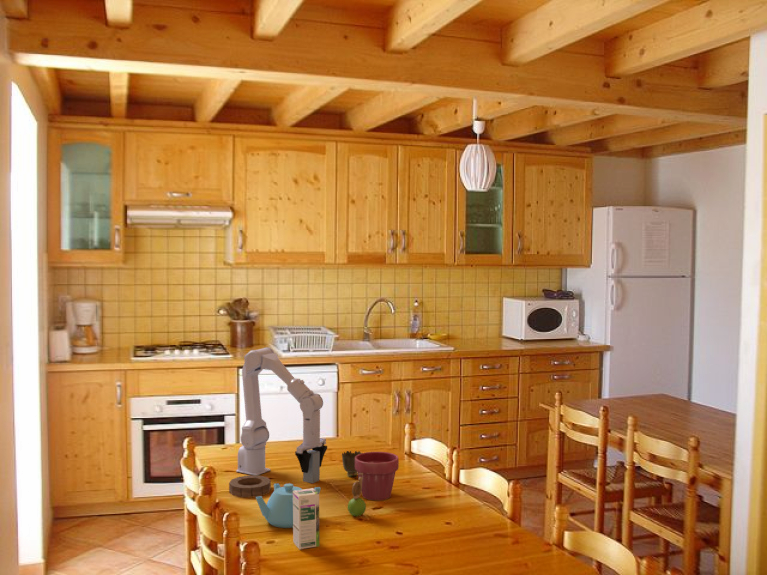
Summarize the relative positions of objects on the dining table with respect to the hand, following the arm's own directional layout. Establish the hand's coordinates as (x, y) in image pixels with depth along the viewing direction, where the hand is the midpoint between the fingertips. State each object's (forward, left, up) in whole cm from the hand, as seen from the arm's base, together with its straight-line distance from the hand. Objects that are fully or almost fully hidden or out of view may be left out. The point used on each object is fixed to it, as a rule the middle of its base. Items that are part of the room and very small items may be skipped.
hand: (311, 469), depth 258 cm
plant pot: (+27, -2, -4) cm, 27 cm away
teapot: (+16, -34, -4) cm, 38 cm away
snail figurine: (+31, -20, -4) cm, 37 cm away
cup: (+9, +12, -4) cm, 16 cm away
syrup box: (+31, -46, -4) cm, 56 cm away
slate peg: (0, 0, -4) cm, 4 cm away
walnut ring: (-11, -19, -4) cm, 22 cm away
